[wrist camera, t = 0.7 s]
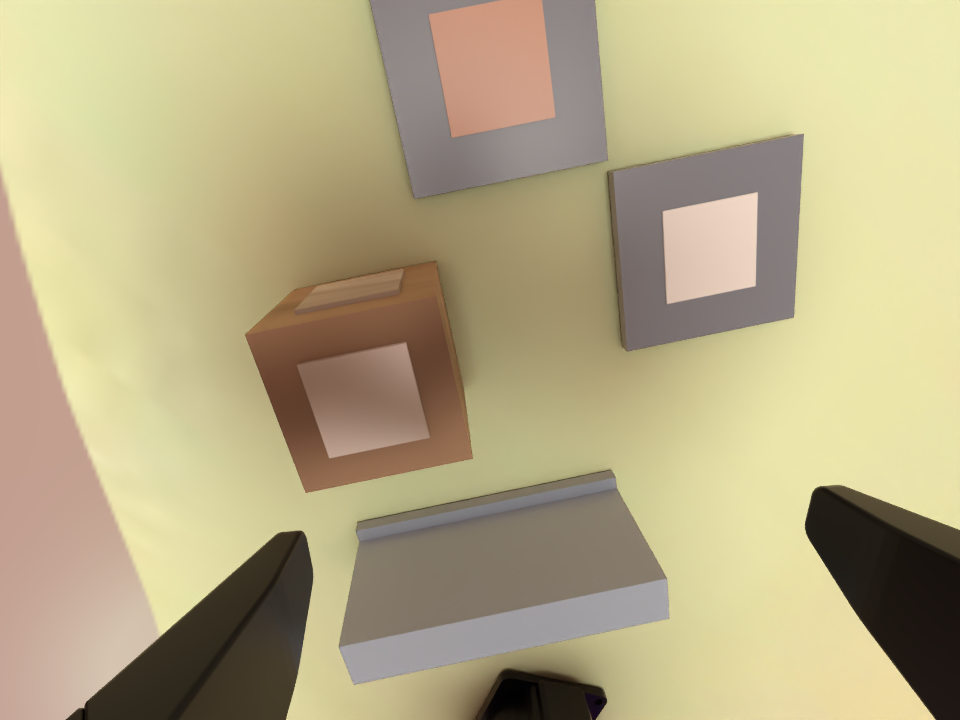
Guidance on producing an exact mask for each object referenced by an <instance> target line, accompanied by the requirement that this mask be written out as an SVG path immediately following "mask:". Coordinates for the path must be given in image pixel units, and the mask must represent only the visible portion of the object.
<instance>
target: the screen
mask: <svg viewBox="0 0 960 720" xmlns="http://www.w3.org/2000/svg"><path fill="white" fill-rule="evenodd" d="M356 533H357V536H358V539H359V546H358V551H357V556H356V561H355V566H354V571H353V576H352V582H351V587H350V592H349V597H348V602H347V607H346V612H345V617H344V622H343V627H342V632H341V637H340V642H339V649H340V652H341V654H342V657H343V659H344V662H345V664H346V667H347V669H348V671H349V674H350V676H351V679H352V681H353V684H354V685H355V684H360V683H365V682H369V681H374V680H379V679H384V678H388V677H393V676H398V675H403V674H407V673H412V672H417V671H422V670H427V669H431V668H436V667H441V666H446V665H450V664H455V663H460V662H465V661H469V660H474V659H479V658H484V657H488V656H493V655H498V654H503V653H508V652H512V651H517V650H522V649H527V648H531V647H536V646H541V645H546V644H550V643H555V642H560V641H565V640H570V639H574V638H579V637H584V636H589V635H593V634H598V633H603V632H608V631H612V630H617V629H622V628H627V627H631V626H636V625H641V624H646V623H651V622H655V621H660V620H665V619H669V603H668V585H667V577H666V576H665V574H664V572H663V570H662V568H661V567H660V565H659V563H658V561H657V559H656V558H655V556H654V554H653V552H652V551H651V549H650V547H649V545H648V543H647V542H646V540H645V538H644V536H643V534H642V533H641V531H640V529H639V527H638V526H637V524H636V522H635V520H634V518H633V517H632V515H631V513H630V511H629V509H628V508H627V506H626V504H625V502H624V500H623V499H622V497H621V495H620V493H619V492H618V490H617V486H616V477H615V476H614V474H613V472H612V470H609V471H604V472H599V473H595V474H590V475H585V476H580V477H575V478H570V479H566V480H561V481H556V482H551V483H546V484H541V485H536V486H532V487H527V488H522V489H517V490H512V491H507V492H503V493H498V494H493V495H488V496H483V497H478V498H474V499H469V500H464V501H459V502H454V503H449V504H444V505H440V506H435V507H430V508H425V509H420V510H415V511H411V512H406V513H401V514H396V515H391V516H386V517H381V518H377V519H372V520H367V521H362V522H358V523H357V528H356Z"/></svg>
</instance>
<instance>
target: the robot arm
mask: <svg viewBox="0 0 960 720" xmlns="http://www.w3.org/2000/svg"><path fill="white" fill-rule="evenodd" d="M805 530H806V534H807V536H808V538H809V540H810V542H811V543H812V545H813V546H814V548H815V550H816V551H817V553H818V554H819V556H820V558H821V559H822V561H823V562H824V564H825V566H826V567H827V569H828V570H829V572H830V573H831V575H832V577H833V578H834V580H835V581H836V583H837V585H838V586H839V588H840V589H841V591H842V592H843V594H844V596H845V597H846V599H847V600H848V602H849V604H850V605H851V607H852V608H853V610H854V611H855V613H856V614H857V616H858V617H859V619H860V620H861V621H862V623H863V624H864V625H865V627H866V628H867V630H868V631H869V632H870V634H871V635H872V636H873V638H874V639H875V640H876V642H877V643H878V644H879V645H880V647H881V648H882V649H883V651H884V652H885V653H886V655H887V656H888V657H889V659H890V660H891V661H892V663H893V664H894V665H895V667H896V668H897V669H898V671H899V672H900V673H901V675H902V676H903V677H904V678H905V680H906V681H907V682H908V684H909V685H910V686H911V688H912V689H913V690H914V692H915V693H916V694H917V696H918V697H919V698H920V700H921V701H922V702H923V704H924V705H925V706H926V707H927V709H928V710H929V711H930V713H931V714H932V715H933V717H934V718H935V719H936V720H960V530H958V529H955V528H953V527H950V526H948V525H945V524H942V523H940V522H937V521H934V520H932V519H929V518H927V517H924V516H921V515H919V514H916V513H913V512H911V511H908V510H905V509H903V508H900V507H898V506H895V505H892V504H890V503H887V502H884V501H882V500H879V499H877V498H874V497H871V496H869V495H866V494H863V493H861V492H858V491H855V490H853V489H850V488H848V487H845V486H842V485H830V486H820V487H817V488H816V489H815V490H814V491H813V493H812V496H811V500H810V504H809V508H808V513H807V517H806V521H805ZM312 584H313V568H312V563H311V558H310V553H309V548H308V543H307V538H306V535H305V533H304V532H302V531H290V532H281V533H278V534H277V535H275V536H274V537H273V538H272V539H271V540H269V541H268V542H267V543H266V544H265V545H264V546H263V547H261V548H260V549H259V550H258V551H257V552H256V553H255V554H254V555H252V556H251V557H250V558H249V559H248V560H247V561H246V562H244V563H243V564H242V565H241V566H240V567H239V568H238V569H237V570H235V571H234V572H233V573H232V574H231V575H230V576H229V577H227V578H226V579H225V580H224V581H223V582H222V583H221V584H219V585H218V586H217V587H216V588H215V589H214V590H213V591H212V592H210V593H209V594H208V595H207V596H206V597H205V598H204V599H202V600H201V601H200V602H199V603H198V604H197V605H196V606H195V607H193V608H192V609H191V610H190V611H189V612H188V613H187V614H185V615H184V616H183V617H182V618H181V619H180V620H179V621H178V622H176V623H175V624H174V625H173V626H172V627H171V628H170V629H168V630H167V631H166V632H165V633H164V634H163V635H162V636H160V637H159V638H158V639H157V640H156V641H155V642H154V643H153V644H152V645H150V646H149V647H148V648H147V649H146V650H145V651H144V652H142V653H141V654H140V655H139V656H138V657H137V658H136V659H134V660H133V661H132V662H131V663H130V664H129V665H128V666H127V667H125V669H123V670H122V671H121V672H120V673H119V674H117V675H116V676H115V677H114V678H113V679H112V680H111V681H110V682H108V683H107V684H106V685H105V686H104V687H103V688H102V689H100V690H99V691H98V692H97V693H96V694H95V695H94V696H92V698H90V699H89V700H88V701H87V702H86V704H85V707H84V708H79V709H77V710H76V711H75V712H74V713H73V714H72V715H71V716H70V717H68V718H67V719H66V720H286V717H287V713H288V709H289V706H290V702H291V698H292V695H293V691H294V687H295V683H296V679H297V675H298V669H299V664H300V658H301V652H302V646H303V640H304V634H305V627H306V621H307V615H308V609H309V603H310V597H311V590H312ZM606 703H607V698H606V695H605V692H604V691H603V690H601V689H597V688H592V687H587V686H582V685H577V684H572V683H567V682H562V681H557V680H553V679H548V678H543V677H538V676H533V675H528V674H523V673H518V672H513V671H506V672H504V673H502V674H501V675H500V676H499V678H498V680H497V682H496V684H495V685H494V687H493V689H492V691H491V693H490V694H489V696H488V698H487V700H486V702H485V704H484V705H483V707H482V709H481V711H480V713H479V714H478V716H477V718H476V720H596V718H597V717H598V715H599V714H600V712H601V711H602V709H603V708H604V706H605V705H606Z"/></svg>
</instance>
